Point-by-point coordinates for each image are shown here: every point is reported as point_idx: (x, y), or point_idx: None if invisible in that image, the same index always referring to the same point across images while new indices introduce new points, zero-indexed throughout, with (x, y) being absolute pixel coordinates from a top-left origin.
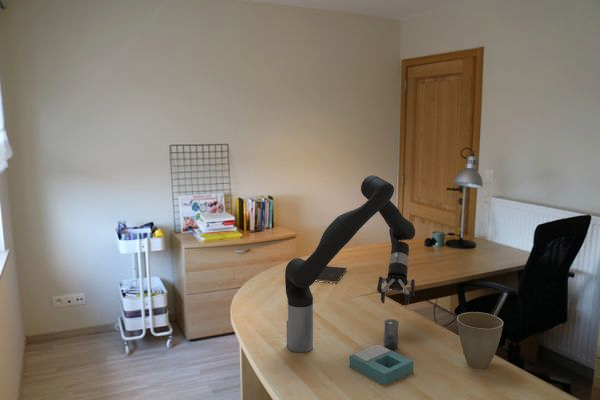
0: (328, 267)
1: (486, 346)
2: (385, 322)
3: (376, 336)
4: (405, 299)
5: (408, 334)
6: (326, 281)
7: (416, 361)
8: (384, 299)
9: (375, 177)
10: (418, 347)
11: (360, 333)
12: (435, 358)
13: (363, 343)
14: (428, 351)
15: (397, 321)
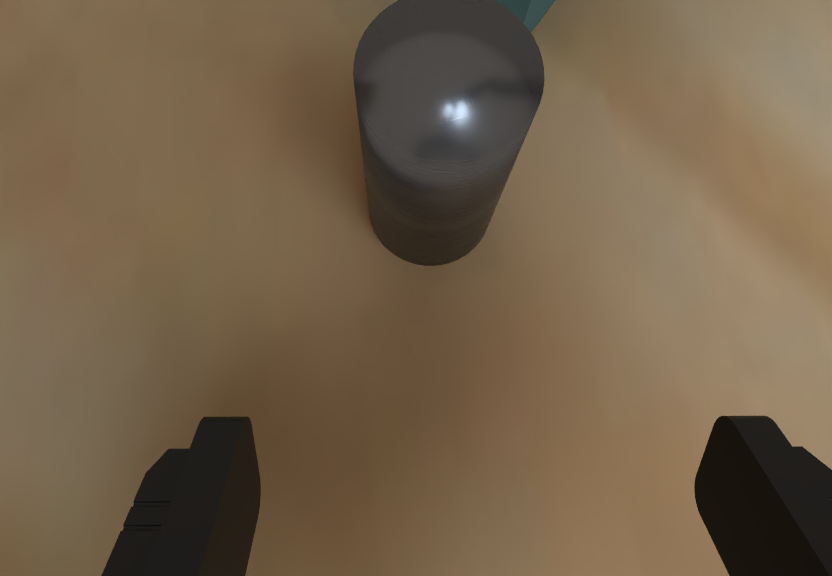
0: None
1: None
2: (526, 38)
3: (599, 407)
4: (211, 486)
5: (287, 558)
6: None
7: (202, 26)
8: (737, 522)
9: None
10: (184, 276)
11: None
12: (44, 111)
13: (677, 222)
14: (95, 221)
15: (370, 107)
